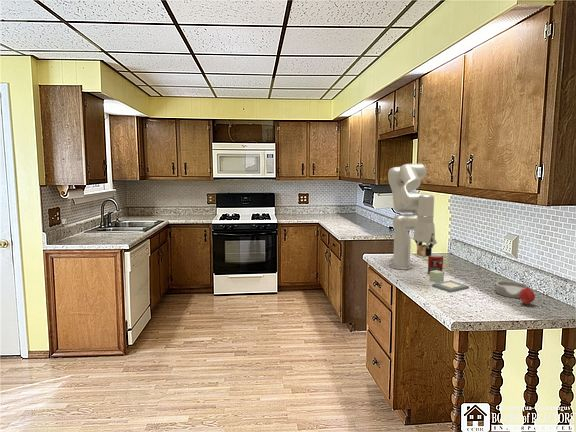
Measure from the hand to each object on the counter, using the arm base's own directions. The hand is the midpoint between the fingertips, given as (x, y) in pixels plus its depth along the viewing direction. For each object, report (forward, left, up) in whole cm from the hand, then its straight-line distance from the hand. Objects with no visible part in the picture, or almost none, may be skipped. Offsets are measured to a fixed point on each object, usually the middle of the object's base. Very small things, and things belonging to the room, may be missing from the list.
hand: (424, 254), depth 201 cm
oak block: (0, 0, -1) cm, 1 cm away
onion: (+43, +16, -16) cm, 49 cm away
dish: (+31, +24, -16) cm, 43 cm away
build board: (+11, +7, -15) cm, 20 cm away
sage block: (-1, +10, -16) cm, 19 cm away
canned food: (-11, +20, -16) cm, 28 cm away
